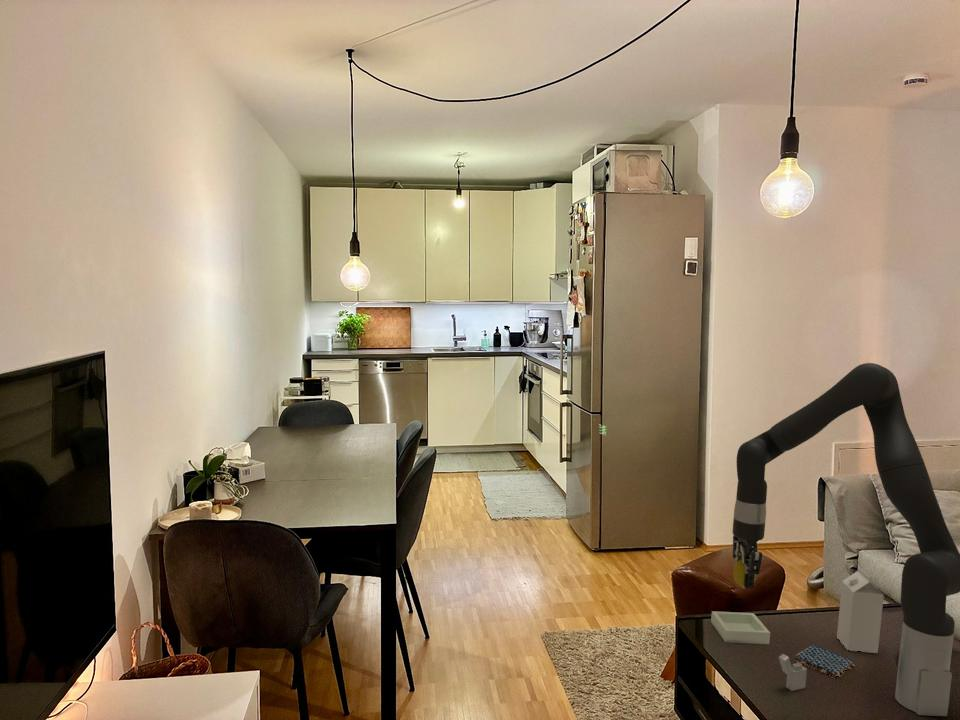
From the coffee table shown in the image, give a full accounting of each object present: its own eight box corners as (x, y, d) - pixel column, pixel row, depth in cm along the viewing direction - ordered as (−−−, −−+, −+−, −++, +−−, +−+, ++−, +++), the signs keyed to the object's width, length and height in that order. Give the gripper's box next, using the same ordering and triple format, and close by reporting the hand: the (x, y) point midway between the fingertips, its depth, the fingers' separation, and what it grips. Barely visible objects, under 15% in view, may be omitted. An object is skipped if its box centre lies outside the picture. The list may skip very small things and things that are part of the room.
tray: (769, 644, 180) (770, 632, 180) (724, 642, 180) (725, 630, 180) (752, 624, 191) (753, 613, 191) (710, 622, 191) (711, 611, 191)
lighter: (799, 683, 162) (802, 649, 161) (805, 687, 160) (808, 652, 159) (775, 689, 159) (778, 654, 158) (781, 693, 157) (784, 657, 157)
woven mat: (791, 663, 172) (792, 654, 172) (811, 650, 179) (812, 642, 179) (836, 682, 164) (837, 673, 164) (855, 668, 171) (856, 660, 171)
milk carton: (865, 640, 185) (872, 568, 183) (877, 654, 178) (885, 578, 176) (836, 638, 186) (843, 565, 184) (847, 651, 178) (855, 576, 177)
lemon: (727, 585, 186) (729, 555, 185) (743, 583, 188) (746, 553, 187) (743, 594, 181) (746, 563, 180) (760, 591, 183) (762, 560, 182)
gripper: (775, 528, 176) (769, 595, 177) (753, 510, 190) (748, 573, 191) (744, 526, 176) (739, 594, 177) (725, 509, 190) (719, 571, 191)
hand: (743, 582), depth 184 cm, fingers closed on lemon, 5 cm apart
